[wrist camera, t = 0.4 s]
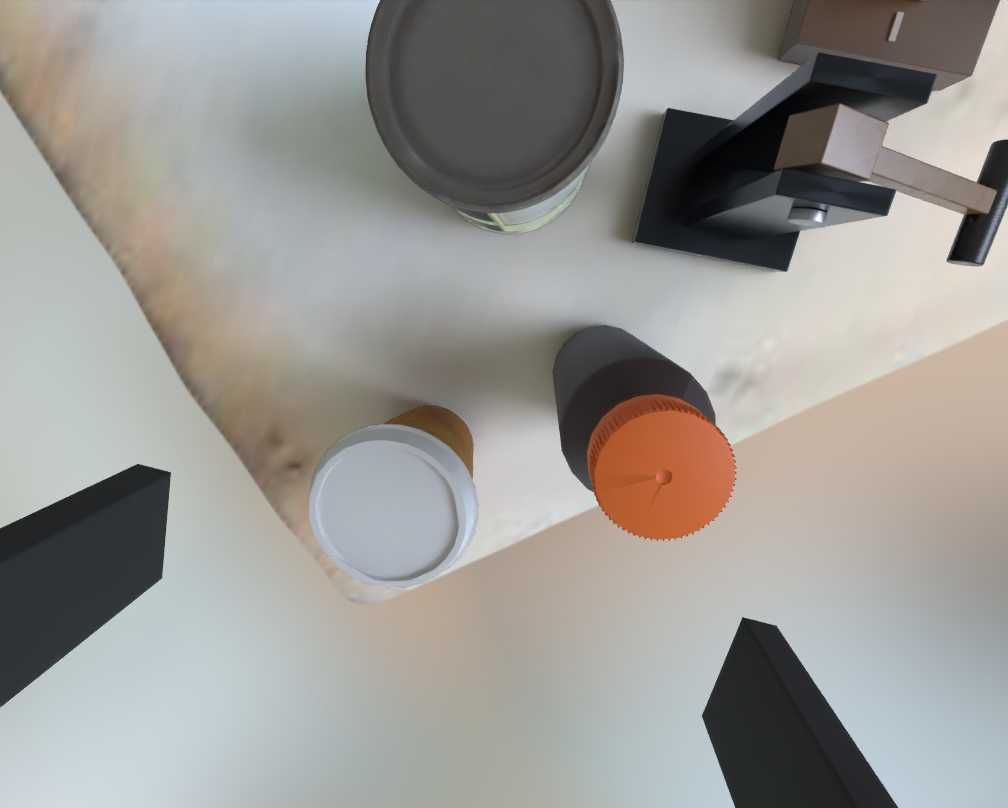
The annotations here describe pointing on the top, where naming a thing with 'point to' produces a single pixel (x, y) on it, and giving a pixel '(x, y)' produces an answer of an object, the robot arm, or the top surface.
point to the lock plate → (893, 33)
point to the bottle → (640, 434)
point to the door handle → (899, 172)
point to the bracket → (765, 167)
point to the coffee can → (495, 100)
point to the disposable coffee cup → (397, 498)
